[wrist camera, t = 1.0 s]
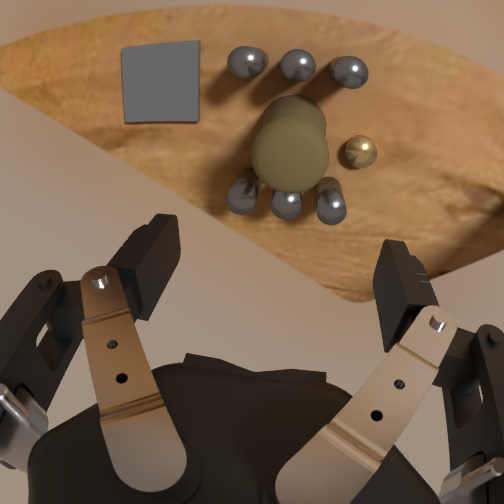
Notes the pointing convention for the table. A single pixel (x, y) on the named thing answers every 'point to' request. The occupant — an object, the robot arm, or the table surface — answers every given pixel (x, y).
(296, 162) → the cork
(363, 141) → the glossy gold bead
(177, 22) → the table surface
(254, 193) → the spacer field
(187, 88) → the coaster
